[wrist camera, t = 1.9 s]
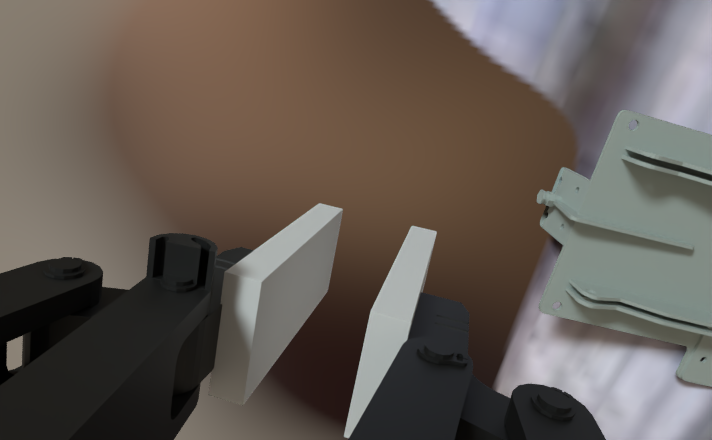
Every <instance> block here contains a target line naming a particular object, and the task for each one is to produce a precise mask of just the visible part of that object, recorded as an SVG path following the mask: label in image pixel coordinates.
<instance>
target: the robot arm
mask: <svg viewBox="0 0 712 440" xmlns="http://www.w3.org/2000/svg"><path fill="white" fill-rule="evenodd" d="M342 212H343V209H341V208H337V207H332V206H328V205H324V204H318V205H316V206H315V207H314V208H312V209H311V210H309V211H308V212H307V213H305V214H304V215H303V216H301V217H300V218H298V219H297V220H296V221H294V222H293V223H292V224H290V225H289V226H287V227H286V228H285V229H283V230H282V231H280V232H279V233H278V234H276V235H275V236H273V237H272V238H271V239H269V240H268V241H267V242H265V243H264V244H262V245H261V246H260V247H258V248H257V249H256V250H250V249H246V248H242V247H240V248H235V249H231V250H227V251H224V252H222V253H221V254H220V255H218V256H217V246H216V245H215V243H214V242H212V241H210V240H208V239H205V238H202V237H199V236H196V235H189V234H177V233H175V234H174V233H169V234H161V235H156V236H154V237H151V238H150V243H149V254H148V265H147V276H146V278H144V279H143V280H142V281H140V282H139V283H138V284H136V285H135V286H134V287H132V288H131V289H130V290H125V289H116V288H106V287H102V279H103V271H102V269H101V268H100V266H98V265H96V264H94V263H92V262H88V261H84V260H82V259H80V258H73V259H72V257H63V258H59V259H51V260H45V261H40V262H36V263H33V264H30V265H27V266H23V267H20V268H17V269H14V270H11V271H7V272H4V273H1V274H0V440H174V438H175V437H176V435H177V434H178V432H179V431H180V429H181V428H182V426H183V425H184V423H185V422H186V420H187V419H188V417H189V416H190V414H191V413H192V411H193V410H194V408H195V407H196V405H197V402H198V398H199V391H200V383H201V381H202V380H203V379H204V378H205V377H206V376H207V375H208V374H209V373H210V372H211V379H210V387H209V395H210V396H214V397H217V398H220V399H224V400H227V401H230V402H234V403H237V404H240V405H244V403H245V402H246V401H247V399H248V398H249V397H250V395H251V394H252V392H253V391H254V390H255V388H256V387H257V386H258V384H259V383H260V382H261V380H262V379H263V378H264V376H265V375H266V374H267V372H268V371H269V369H270V368H271V367H272V365H273V364H274V363H275V361H276V360H277V359H278V357H279V356H280V355H281V353H282V352H283V351H284V349H285V348H286V347H287V345H288V344H289V343H290V341H291V340H292V338H293V337H294V336H295V334H296V333H297V332H298V330H299V329H300V328H301V326H302V325H303V324H304V322H305V321H306V320H307V318H308V317H309V316H310V314H311V313H312V312H313V310H314V309H315V307H316V306H317V305H318V303H319V302H320V301H321V299H322V298H323V296H324V295H325V294H326V292H327V291H328V286H329V281H330V275H331V270H332V265H333V260H334V254H335V249H336V244H337V238H338V233H339V228H340V223H341V217H342ZM436 233H437V232H436V231H432V230H428V229H424V228H419V227H415V226H411V228H410V230H409V233H408V235H407V237H406V239H405V241H404V243H403V245H402V247H401V249H400V251H399V254H398V255H397V258H396V260H395V262H394V264H393V266H392V268H391V270H390V272H389V274H388V276H387V279H386V280H385V282H384V285H383V287H382V289H381V291H380V293H379V295H378V297H377V299H376V301H375V303H374V306H373V307H372V310H371V312H370V317H369V321H368V326H367V331H366V335H365V340H364V345H363V349H362V354H361V359H360V363H359V368H358V373H357V377H356V382H355V387H354V392H353V396H352V401H351V405H350V410H349V415H348V420H347V425H346V429H345V434H344V437H347V438H349V439H348V440H606V439H605V437H604V435H603V434H602V432H601V430H600V428H599V426H598V425H597V423H596V421H595V419H594V417H593V416H592V414H591V413H590V412H589V411H588V410H587V408H586V407H585V406H584V405H583V404H581V403H580V402H579V401H577V400H576V399H574V398H573V397H572V396H571V395H569V394H568V393H566V392H564V393H563V392H562V390H559V389H557V388H554V387H547V386H544V385H537V384H524V385H519V386H518V387H517V388H515V389H514V390H513V392H512V395H511V398H509V397H507V396H504V395H502V394H500V393H498V392H496V391H494V390H492V389H490V388H489V387H487V386H485V385H484V384H483V383H481V382H480V381H479V380H478V379H477V378H476V377H474V375H473V374H472V370H473V363H472V359H471V358H470V357H469V356H468V331H469V325H468V324H469V312H468V311H467V310H466V308H465V307H464V306H463V305H462V303H460V302H456V301H453V300H449V299H445V298H441V297H437V296H433V295H429V294H426V293H422V292H423V288H424V283H425V279H426V275H427V271H428V267H429V263H430V258H431V254H432V250H433V246H434V242H435V237H436ZM22 335H23V351H22V366H20V367H18V368H16V369H13V370H9V371H8V369H7V366H6V358H7V354H6V353H7V342H8V341H11V340H13V339H15V338H18V337H20V336H22Z"/></svg>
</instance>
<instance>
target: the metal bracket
mask: <svg viewBox="0 0 712 440" xmlns="http://www.w3.org/2000/svg"><path fill="white" fill-rule="evenodd" d="M632 120H636V121H637V127H636V128H635V129H633V130H630V129H629V127H628V126H629V123H630V121H632ZM578 190H579V191H578ZM537 202H538V203H539V204H542V203H543V204H544V205H546V208H545V210H544V213H543V215H542V217H541V220H540V226H541V227H542V228H543V229H544V230H546V231H547V232H548V233H549V234H550V235H552V236H553V237H554V238H555V239H556V240H558V241H559V242H560V243H561V244H562V245H563V248H562V250H561V252H560V255H559V257H558V260H557V262H556V265H555V267H554V269H553V272H552V274H551V277H550V279H549V282H548V284H547V286H546V289H545V291H544V294H543V296H542V299H541V301H540V303H539V309H540V311H541V312H542V313H544V314H549V315H553V316H557V317H562V318H566V319H570V320H575V321H579V322H583V323H587V324H592V325H596V326H600V327H605V328H609V329H613V330H618V331H622V332H626V333H631V334H635V335H639V336H644V337H648V338H652V339H657V340H661V341H665V342H669V343H674V344H678V345H682V346H686V347H687V351H686V353H685V355H684V357H683V359H682V361H681V363H680V365H679V367H678V369H677V371H676V375H677V376H678V377H679V378H681V379H683V380H684V381H687V382H692V383H696V384H701V385H705V386H710V387H712V135H710V134H706V133H703V132H700V131H696V130H693V129H689V128H686V127H683V126H679V125H676V124H672V123H669V122H666V121H662V120H659V119H656V118H652V117H649V116H645V115H642V114H639V113H635V112H632V111H628V110H622V111H620V112H619V113H618V115H617V117H616V119H615V121H614V124H613V126H612V129H611V131H610V134H609V136H608V138H607V141H606V143H605V146H604V148H603V151H602V153H601V155H600V158H599V160H598V163H597V165H596V168H595V170H594V172H593V175H592V177H591V180H589V179H587V178H586V177H584V176H582V175H580V174H578V173H576V172H574V171H572V170H570V169H568V168H565V167H562V168H561V169H560V172H559V174H558V177H557V180H556V182H555V185H554V187H553V190H552V192H549V191H547V192H545V191H544V190H541V191H540V192H539V193H538V195H537ZM563 227H564V228H563ZM555 302H560V303H561V306H560V307H559V308H558V309H553V308H552V306H553V304H554V303H555ZM702 357H704V359H703V361H700V360H701V358H702Z"/></svg>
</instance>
